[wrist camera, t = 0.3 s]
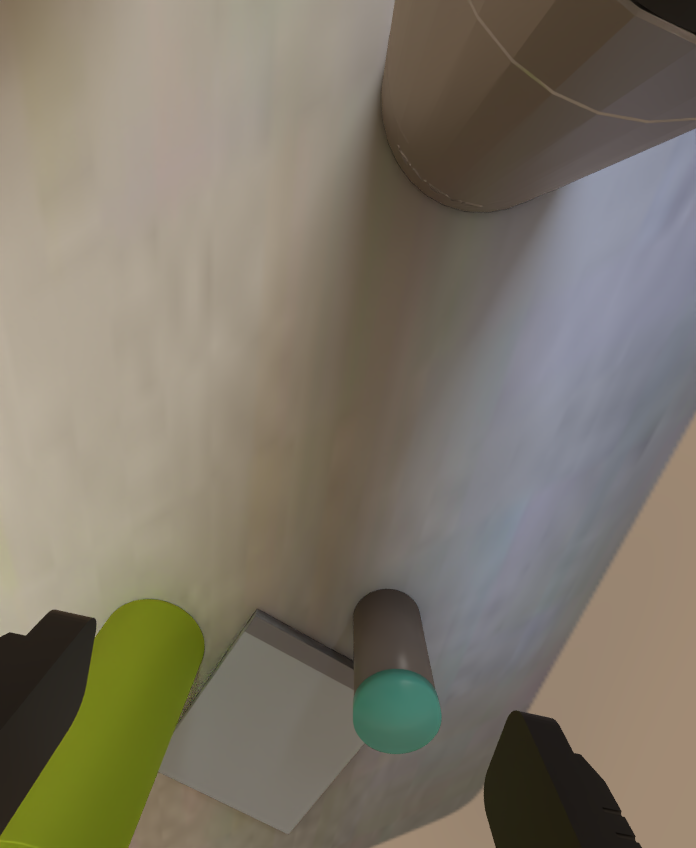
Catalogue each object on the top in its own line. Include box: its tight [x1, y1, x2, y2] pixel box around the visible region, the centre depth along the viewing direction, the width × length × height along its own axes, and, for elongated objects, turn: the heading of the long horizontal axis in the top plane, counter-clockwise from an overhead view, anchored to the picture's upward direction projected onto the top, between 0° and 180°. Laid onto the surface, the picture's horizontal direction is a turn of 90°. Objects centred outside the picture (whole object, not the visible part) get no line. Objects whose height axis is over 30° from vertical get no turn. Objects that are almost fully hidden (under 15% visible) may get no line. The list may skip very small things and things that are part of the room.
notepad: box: [158, 609, 364, 835], centre depth 31 cm, size 13×10×1 cm
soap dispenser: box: [0, 599, 204, 848], centre depth 20 cm, size 6×7×20 cm
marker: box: [353, 589, 441, 754], centre depth 26 cm, size 4×4×7 cm
